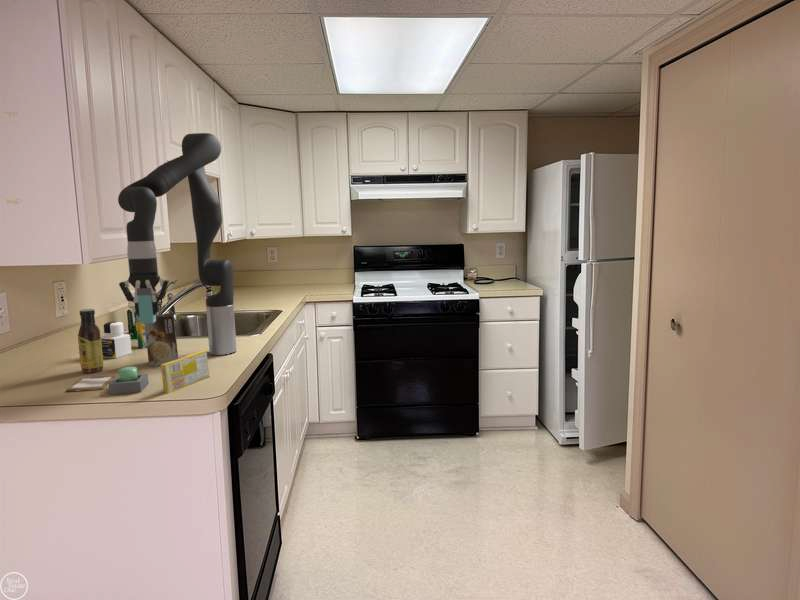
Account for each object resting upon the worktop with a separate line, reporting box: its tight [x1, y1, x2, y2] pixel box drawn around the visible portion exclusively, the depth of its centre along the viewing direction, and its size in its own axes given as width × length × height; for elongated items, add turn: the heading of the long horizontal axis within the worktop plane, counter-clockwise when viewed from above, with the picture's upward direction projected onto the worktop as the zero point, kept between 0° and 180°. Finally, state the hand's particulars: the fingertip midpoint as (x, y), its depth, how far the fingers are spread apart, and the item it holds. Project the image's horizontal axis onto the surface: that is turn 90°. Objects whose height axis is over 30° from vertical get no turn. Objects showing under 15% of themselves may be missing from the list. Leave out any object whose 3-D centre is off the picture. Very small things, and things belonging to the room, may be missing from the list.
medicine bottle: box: [101, 321, 133, 359], centre depth 185 cm, size 7×7×12 cm
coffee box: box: [145, 312, 179, 367], centre depth 174 cm, size 9×6×16 cm
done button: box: [118, 366, 139, 382], centre depth 147 cm, size 5×5×4 cm
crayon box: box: [135, 316, 147, 349], centre depth 199 cm, size 7×3×12 cm, turn 150°
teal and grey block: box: [137, 288, 157, 324], centre depth 155 cm, size 4×4×10 cm
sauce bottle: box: [77, 308, 104, 374], centre depth 165 cm, size 6×6×20 cm
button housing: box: [108, 373, 150, 395], centre depth 148 cm, size 8×8×3 cm
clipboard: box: [65, 375, 117, 392], centre depth 152 cm, size 11×10×1 cm
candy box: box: [160, 350, 210, 394], centre depth 151 cm, size 16×2×8 cm, turn 159°
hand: (147, 314), depth 156 cm, fingers closed on teal and grey block, 3 cm apart
